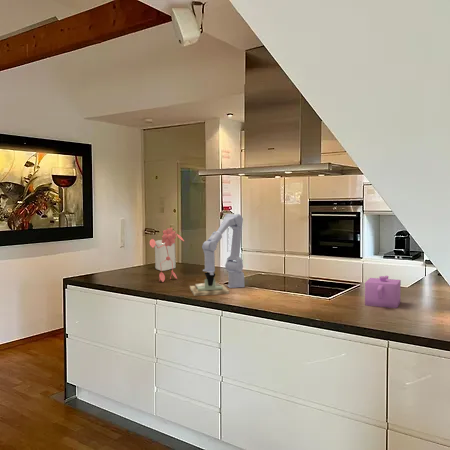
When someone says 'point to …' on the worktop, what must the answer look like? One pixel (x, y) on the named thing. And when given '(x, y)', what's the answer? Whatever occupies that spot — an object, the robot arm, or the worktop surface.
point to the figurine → (168, 240)
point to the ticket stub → (209, 286)
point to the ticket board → (208, 292)
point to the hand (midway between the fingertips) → (210, 285)
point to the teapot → (382, 292)
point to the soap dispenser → (164, 256)
